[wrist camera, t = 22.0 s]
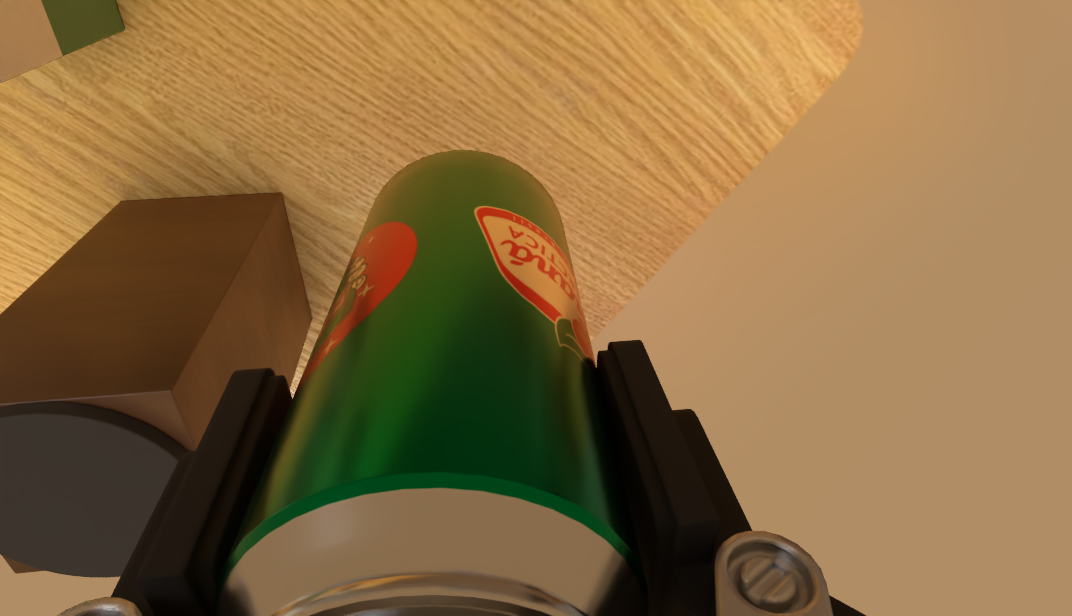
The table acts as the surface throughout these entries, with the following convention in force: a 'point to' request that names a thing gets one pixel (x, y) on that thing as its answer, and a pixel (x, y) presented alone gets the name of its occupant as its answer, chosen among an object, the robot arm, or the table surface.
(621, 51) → the table surface
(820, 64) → the table surface
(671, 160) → the table surface
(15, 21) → the block
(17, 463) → the coaster
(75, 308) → the pedestal
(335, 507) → the soda can
